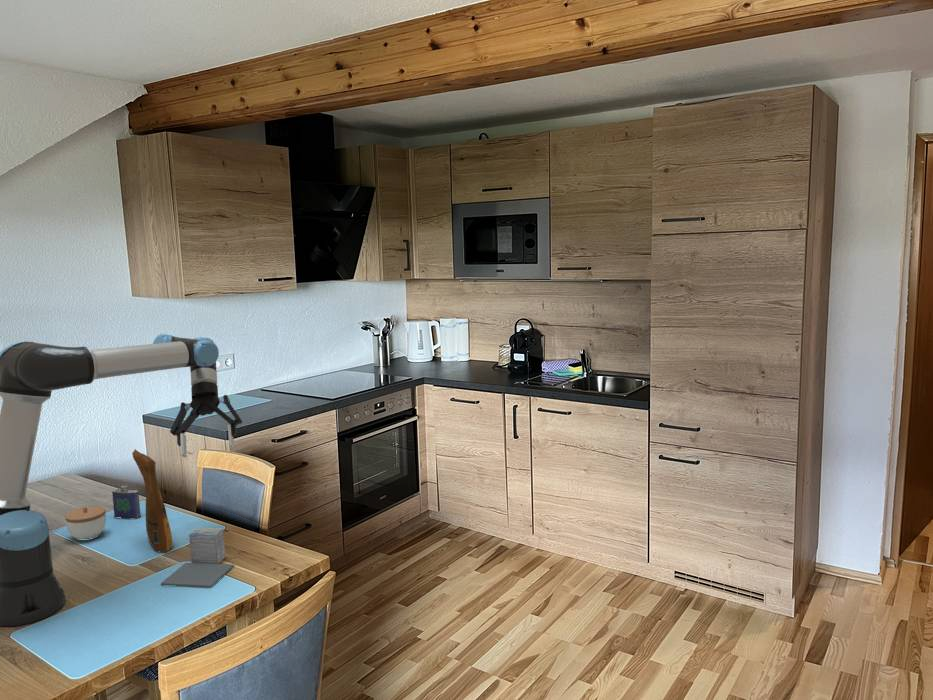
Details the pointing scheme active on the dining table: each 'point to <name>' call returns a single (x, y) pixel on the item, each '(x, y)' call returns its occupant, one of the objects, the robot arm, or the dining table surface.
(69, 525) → the lidded jar
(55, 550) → the dining table surface
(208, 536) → the medicine box
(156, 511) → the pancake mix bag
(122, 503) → the flask
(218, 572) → the mat
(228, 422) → the robot arm
